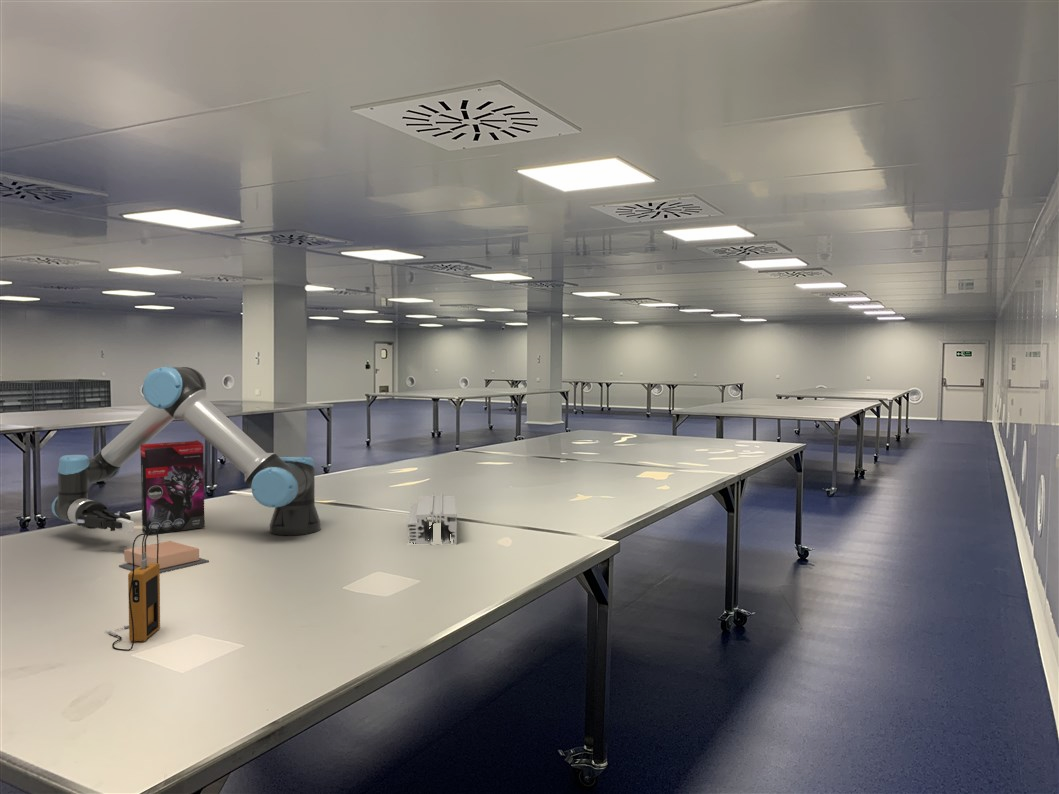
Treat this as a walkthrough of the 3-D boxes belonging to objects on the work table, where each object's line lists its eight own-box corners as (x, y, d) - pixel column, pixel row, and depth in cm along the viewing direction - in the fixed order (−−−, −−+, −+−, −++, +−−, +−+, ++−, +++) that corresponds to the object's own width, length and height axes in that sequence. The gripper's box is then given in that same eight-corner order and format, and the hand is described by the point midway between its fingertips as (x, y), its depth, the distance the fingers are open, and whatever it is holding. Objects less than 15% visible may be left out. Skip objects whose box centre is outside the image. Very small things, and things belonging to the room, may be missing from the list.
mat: (118, 566, 185) (118, 565, 185) (179, 553, 198) (179, 552, 198) (147, 576, 177) (147, 574, 177) (209, 561, 190) (209, 560, 190)
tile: (124, 549, 187) (153, 558, 179) (169, 540, 197) (199, 548, 189) (124, 562, 187) (153, 571, 179) (169, 553, 197) (199, 561, 189)
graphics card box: (145, 536, 218) (145, 447, 215) (139, 531, 223) (139, 443, 221) (205, 528, 229) (205, 443, 226) (198, 523, 234) (198, 439, 232)
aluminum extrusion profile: (407, 546, 209) (406, 512, 209) (411, 523, 240) (411, 493, 239) (456, 545, 211) (456, 511, 211) (455, 522, 241) (455, 493, 241)
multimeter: (116, 623, 145) (114, 523, 144) (168, 622, 145) (167, 523, 145) (76, 652, 130) (74, 541, 129) (135, 651, 131) (133, 540, 130)
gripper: (111, 523, 214) (154, 536, 201) (63, 530, 203) (105, 545, 190) (112, 497, 214) (155, 509, 201) (64, 503, 203) (106, 516, 190)
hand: (131, 527), depth 195 cm, fingers closed
